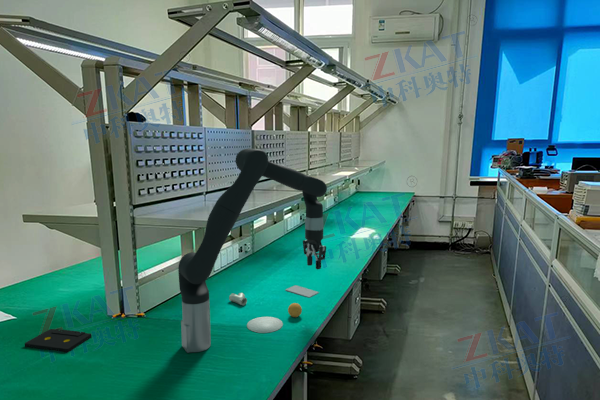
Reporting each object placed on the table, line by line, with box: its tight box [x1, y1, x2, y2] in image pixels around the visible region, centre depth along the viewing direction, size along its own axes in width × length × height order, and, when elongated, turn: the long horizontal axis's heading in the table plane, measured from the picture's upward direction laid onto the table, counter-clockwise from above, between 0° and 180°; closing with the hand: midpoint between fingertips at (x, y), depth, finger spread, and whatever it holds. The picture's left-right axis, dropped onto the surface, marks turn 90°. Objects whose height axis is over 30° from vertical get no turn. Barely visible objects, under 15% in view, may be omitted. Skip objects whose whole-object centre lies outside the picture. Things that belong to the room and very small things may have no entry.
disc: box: [246, 316, 284, 334], centre depth 161 cm, size 14×14×1 cm
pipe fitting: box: [228, 292, 248, 306], centre depth 184 cm, size 8×4×7 cm
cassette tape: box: [24, 328, 92, 354], centre depth 147 cm, size 18×12×2 cm, turn 77°
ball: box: [287, 302, 303, 318], centre depth 168 cm, size 6×6×6 cm
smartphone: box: [284, 284, 320, 298], centre depth 196 cm, size 8×1×15 cm
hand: (314, 266), depth 171 cm, fingers open, 5 cm apart
